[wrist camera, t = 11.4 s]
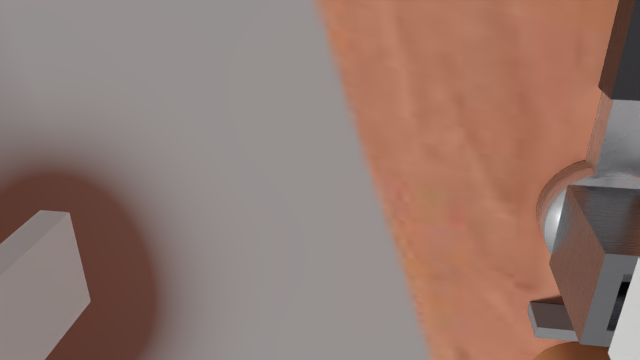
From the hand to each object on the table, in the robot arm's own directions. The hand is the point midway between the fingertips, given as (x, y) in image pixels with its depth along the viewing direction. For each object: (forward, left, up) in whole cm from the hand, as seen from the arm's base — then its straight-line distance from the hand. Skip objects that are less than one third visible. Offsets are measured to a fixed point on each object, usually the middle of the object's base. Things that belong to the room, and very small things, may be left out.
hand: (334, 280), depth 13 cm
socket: (+12, +16, -24) cm, 31 cm away
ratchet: (+6, +16, -27) cm, 32 cm away
